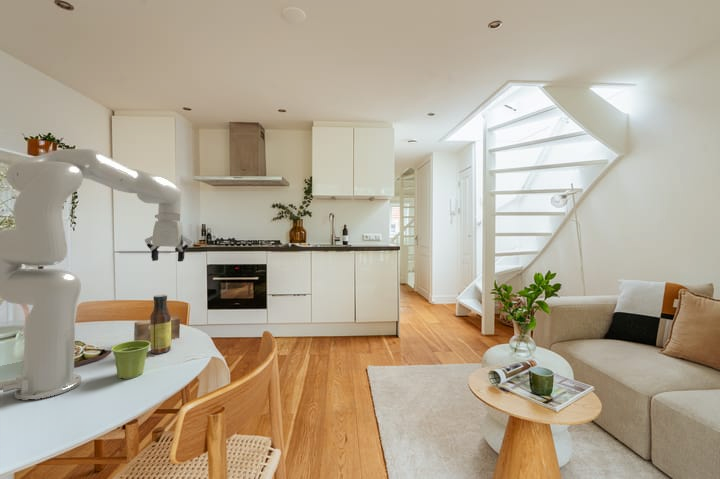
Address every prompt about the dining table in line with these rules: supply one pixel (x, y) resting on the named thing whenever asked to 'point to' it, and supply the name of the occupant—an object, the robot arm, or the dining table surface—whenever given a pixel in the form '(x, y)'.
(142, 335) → the letter block
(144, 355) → the plant pot
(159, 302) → the sauce bottle
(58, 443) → the dining table surface
